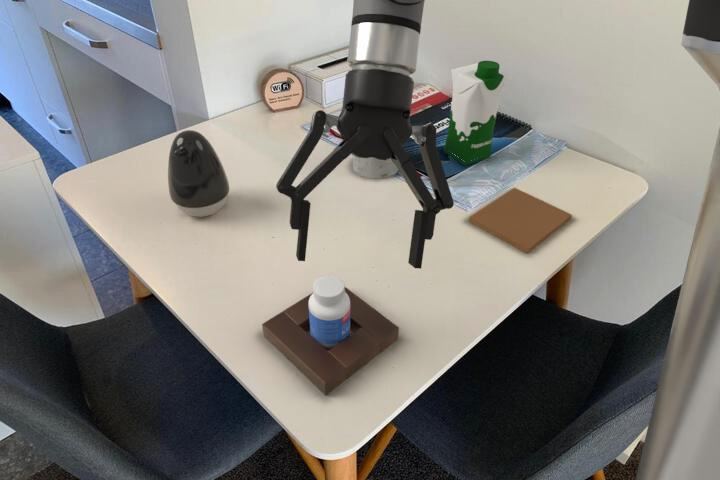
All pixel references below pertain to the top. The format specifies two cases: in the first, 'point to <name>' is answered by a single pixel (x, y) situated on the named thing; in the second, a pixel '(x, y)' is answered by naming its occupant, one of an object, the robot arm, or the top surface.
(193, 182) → the black egg-shaped figure
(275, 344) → the socket base
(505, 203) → the cork pad
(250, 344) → the top surface
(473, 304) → the top surface
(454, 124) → the milk carton
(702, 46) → the robot arm
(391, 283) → the top surface
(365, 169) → the concrete cylinder
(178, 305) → the top surface
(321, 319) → the pill bottle
